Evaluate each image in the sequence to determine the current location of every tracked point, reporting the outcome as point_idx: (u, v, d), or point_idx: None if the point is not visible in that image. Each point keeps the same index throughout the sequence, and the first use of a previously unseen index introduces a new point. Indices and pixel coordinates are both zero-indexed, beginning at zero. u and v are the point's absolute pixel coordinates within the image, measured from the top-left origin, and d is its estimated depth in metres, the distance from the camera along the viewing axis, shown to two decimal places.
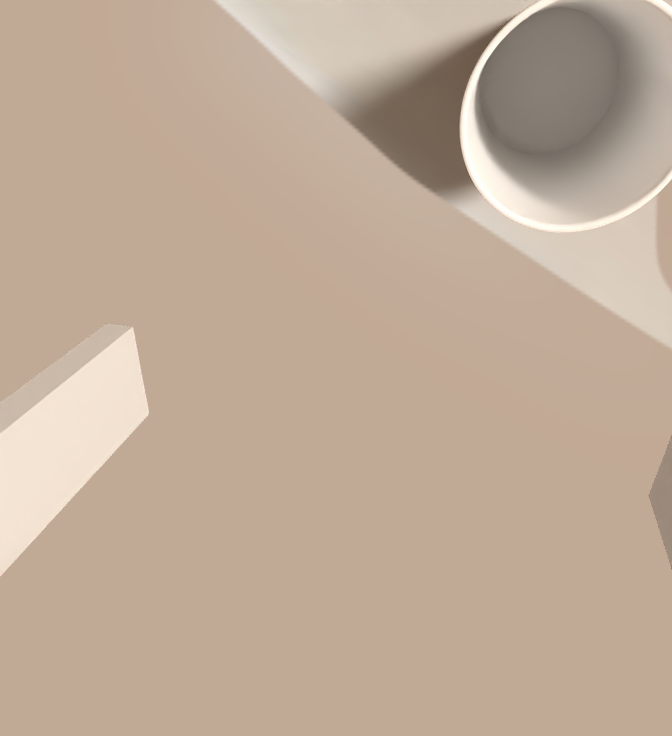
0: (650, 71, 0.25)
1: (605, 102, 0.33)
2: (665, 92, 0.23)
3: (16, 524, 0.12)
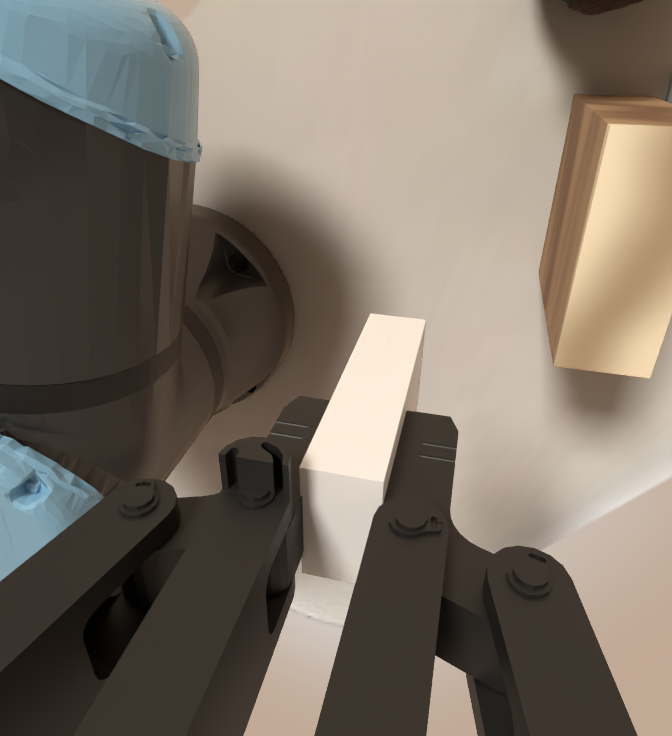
0: None
1: None
2: None
3: None
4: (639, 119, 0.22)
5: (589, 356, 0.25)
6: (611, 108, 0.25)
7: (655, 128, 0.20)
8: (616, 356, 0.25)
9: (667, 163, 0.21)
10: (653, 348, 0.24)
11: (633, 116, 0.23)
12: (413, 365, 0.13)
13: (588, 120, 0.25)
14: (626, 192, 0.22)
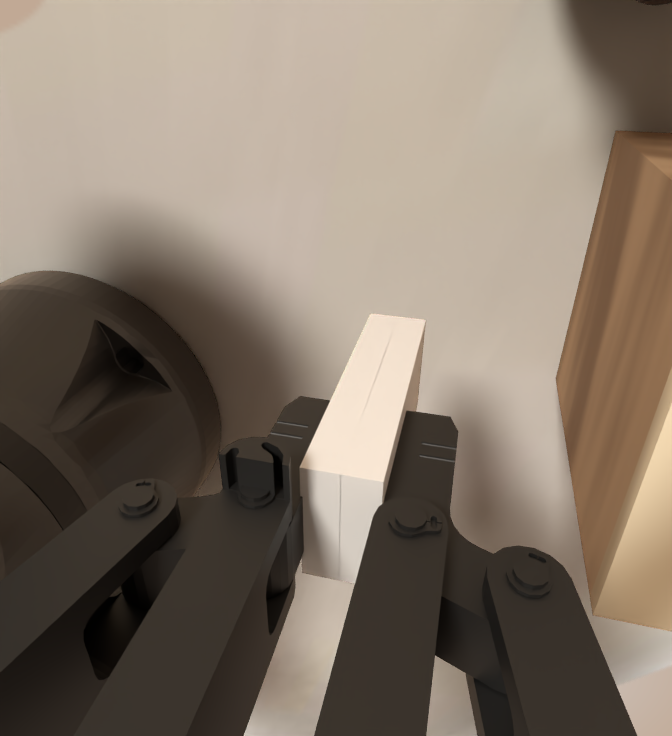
0: None
1: None
2: None
3: None
4: None
5: (658, 609, 0.14)
6: None
7: None
8: None
9: None
10: None
11: None
12: (413, 365, 0.13)
13: (655, 190, 0.14)
14: None
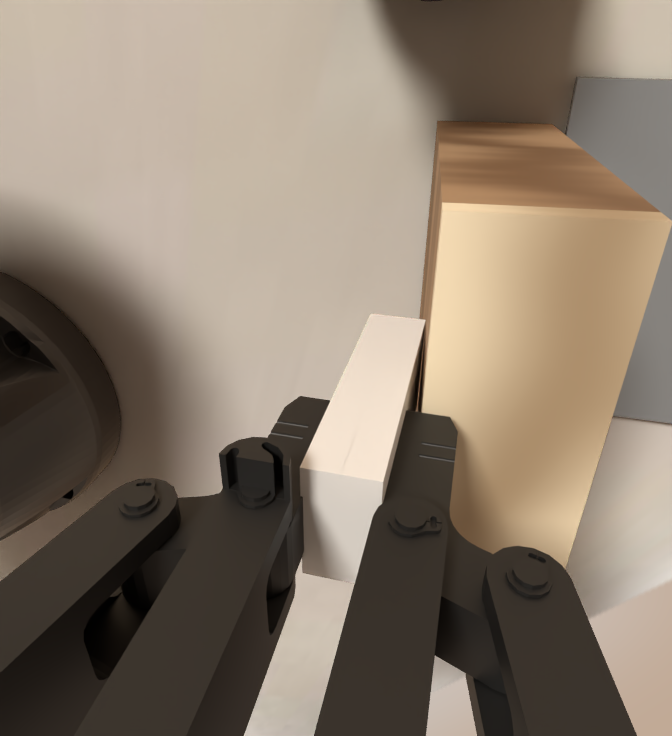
0: None
1: None
2: None
3: None
4: (506, 185, 0.12)
5: None
6: (473, 154, 0.15)
7: (526, 215, 0.10)
8: None
9: (554, 277, 0.11)
10: (558, 557, 0.15)
11: (499, 176, 0.13)
12: (413, 365, 0.13)
13: (437, 174, 0.15)
14: (486, 325, 0.12)
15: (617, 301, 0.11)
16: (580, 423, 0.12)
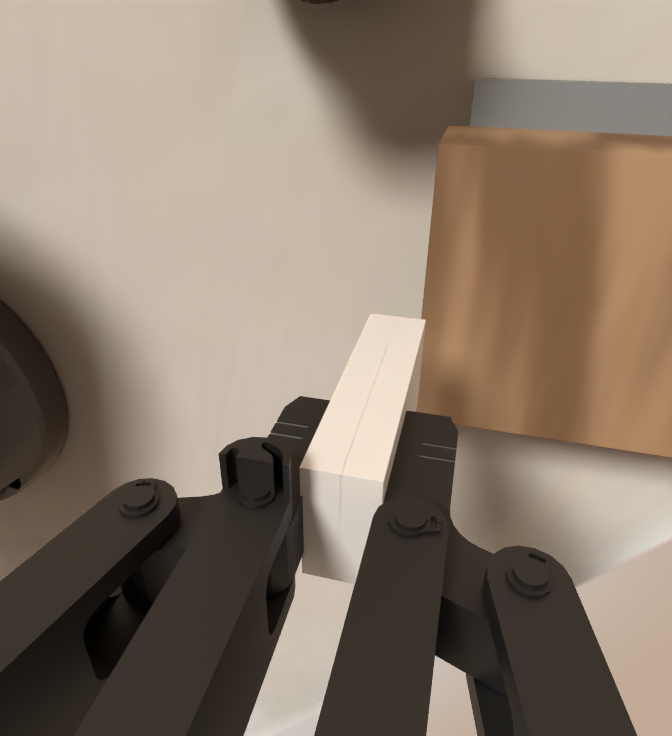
0: None
1: None
2: None
3: None
4: None
5: None
6: (658, 150, 0.17)
7: None
8: None
9: None
10: None
11: None
12: (413, 365, 0.13)
13: None
14: None
15: None
16: None
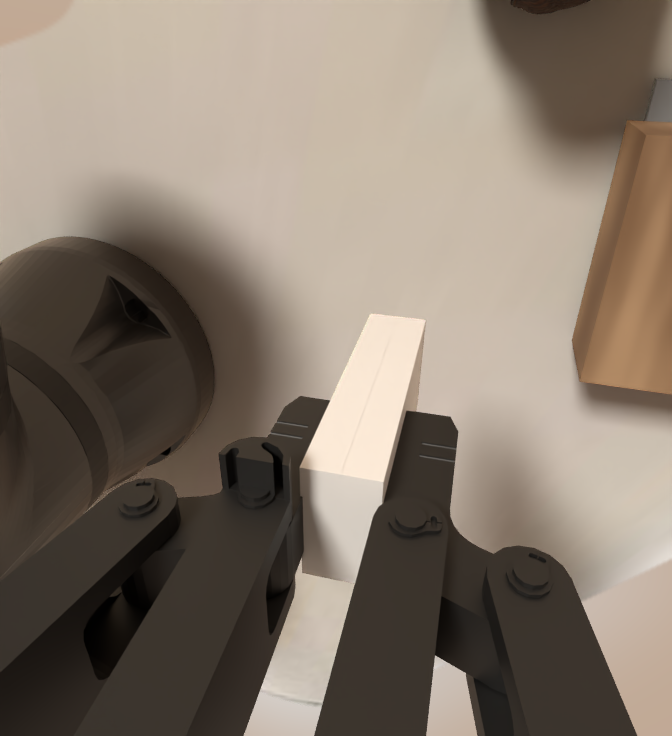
0: None
1: None
2: None
3: None
4: None
5: None
6: None
7: None
8: None
9: None
10: None
11: None
12: (413, 365, 0.13)
13: None
14: None
15: None
16: None
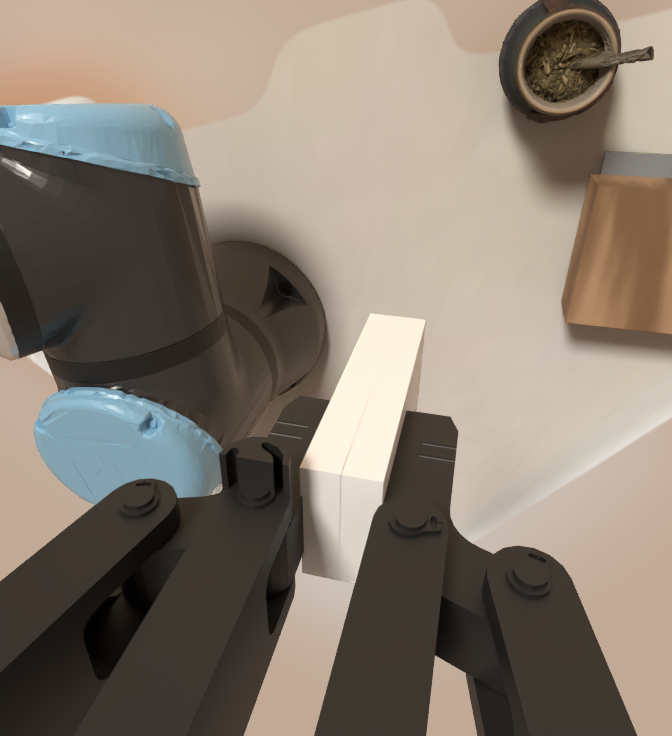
0: None
1: None
2: None
3: None
4: None
5: None
6: None
7: None
8: None
9: None
10: None
11: None
12: (413, 365, 0.13)
13: None
14: None
15: None
16: None
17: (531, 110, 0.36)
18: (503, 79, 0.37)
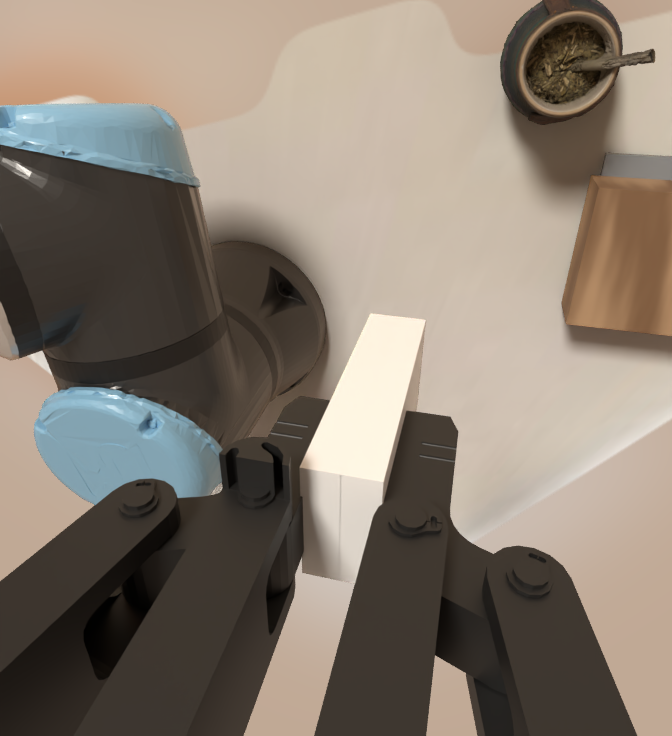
0: None
1: None
2: None
3: None
4: None
5: None
6: None
7: None
8: None
9: None
10: None
11: None
12: (413, 365, 0.13)
13: None
14: None
15: None
16: None
17: (532, 111, 0.36)
18: (504, 81, 0.37)
